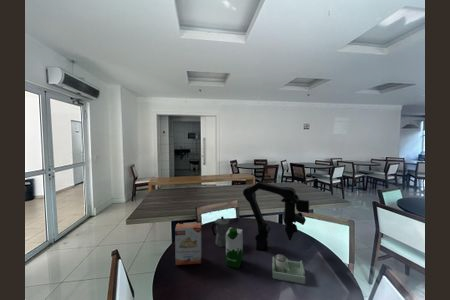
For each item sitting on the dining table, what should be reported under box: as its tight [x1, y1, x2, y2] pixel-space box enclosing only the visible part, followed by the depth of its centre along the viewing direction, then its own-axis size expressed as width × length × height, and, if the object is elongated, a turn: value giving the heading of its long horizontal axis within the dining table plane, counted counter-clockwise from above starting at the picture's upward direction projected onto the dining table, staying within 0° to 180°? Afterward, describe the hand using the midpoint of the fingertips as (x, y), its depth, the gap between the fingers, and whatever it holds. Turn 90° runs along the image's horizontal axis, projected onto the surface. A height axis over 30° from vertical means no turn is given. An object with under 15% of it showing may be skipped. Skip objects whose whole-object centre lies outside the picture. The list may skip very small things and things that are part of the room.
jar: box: [275, 253, 287, 273], centre depth 94 cm, size 5×5×7 cm
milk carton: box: [225, 227, 244, 269], centre depth 101 cm, size 9×9×20 cm
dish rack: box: [271, 256, 306, 285], centre depth 93 cm, size 15×11×5 cm
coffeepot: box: [210, 216, 231, 248], centre depth 119 cm, size 15×9×18 cm, turn 129°
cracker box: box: [174, 222, 202, 266], centre depth 102 cm, size 14×6×21 cm, turn 97°
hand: (289, 235), depth 107 cm, fingers open, 9 cm apart
